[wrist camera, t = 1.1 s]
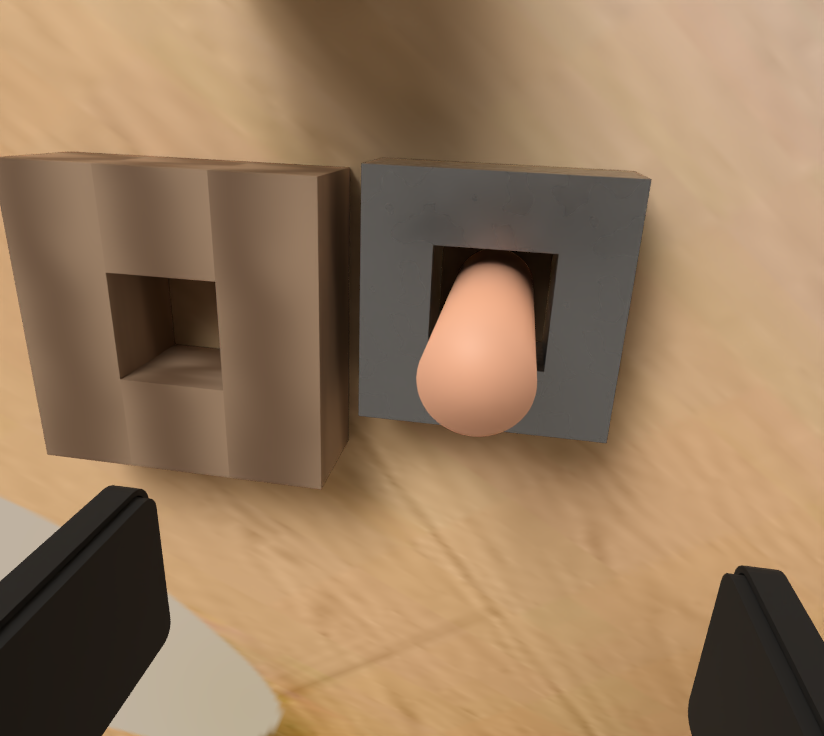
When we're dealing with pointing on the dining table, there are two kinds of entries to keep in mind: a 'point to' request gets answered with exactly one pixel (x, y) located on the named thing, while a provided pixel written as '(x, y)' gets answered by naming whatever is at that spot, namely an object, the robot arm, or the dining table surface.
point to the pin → (482, 348)
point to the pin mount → (501, 230)
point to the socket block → (152, 317)
